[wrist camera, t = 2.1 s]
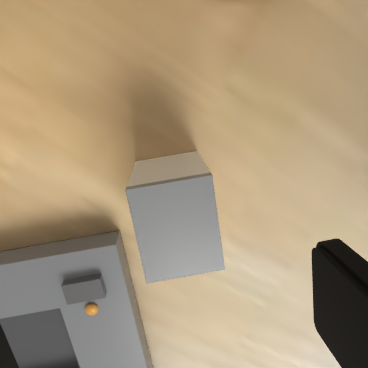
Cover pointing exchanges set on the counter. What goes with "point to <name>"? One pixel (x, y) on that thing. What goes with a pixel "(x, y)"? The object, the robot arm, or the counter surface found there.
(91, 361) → the socket plate
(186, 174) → the plug
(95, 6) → the counter surface
